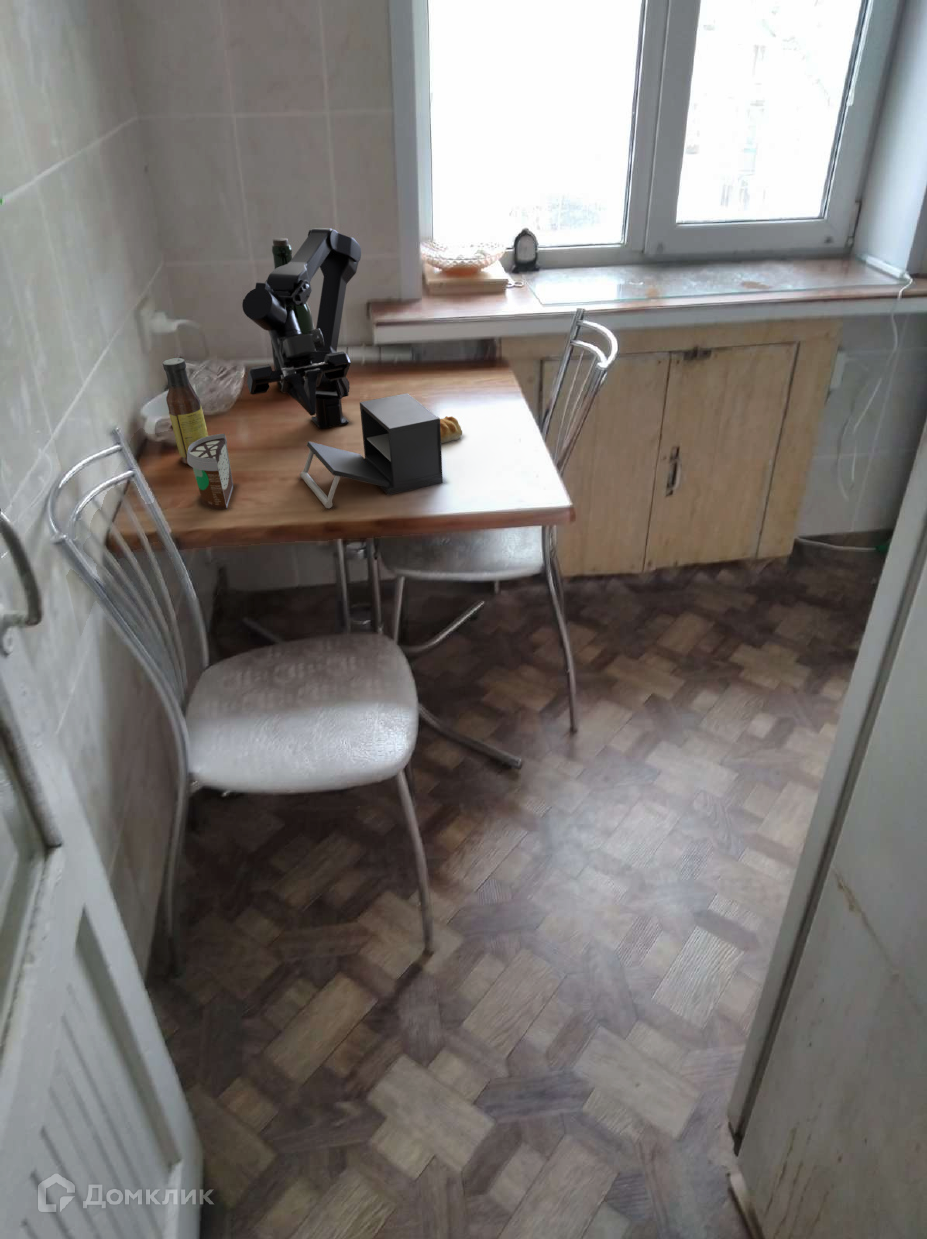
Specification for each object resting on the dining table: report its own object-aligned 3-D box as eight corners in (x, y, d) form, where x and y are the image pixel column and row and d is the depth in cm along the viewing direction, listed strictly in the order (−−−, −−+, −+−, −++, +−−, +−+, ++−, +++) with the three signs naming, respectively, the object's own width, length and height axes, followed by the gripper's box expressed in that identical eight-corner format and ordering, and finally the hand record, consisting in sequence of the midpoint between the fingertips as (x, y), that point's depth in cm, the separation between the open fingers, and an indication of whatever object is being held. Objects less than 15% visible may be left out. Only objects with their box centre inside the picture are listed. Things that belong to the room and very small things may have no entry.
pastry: (428, 449, 181) (427, 431, 179) (408, 440, 185) (407, 422, 183) (465, 437, 186) (464, 419, 184) (445, 428, 190) (444, 411, 188)
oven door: (376, 518, 166) (321, 507, 160) (348, 487, 177) (296, 476, 171) (389, 482, 163) (334, 470, 157) (360, 454, 174) (307, 441, 168)
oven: (388, 495, 164) (383, 429, 157) (359, 465, 176) (353, 403, 169) (442, 482, 168) (440, 418, 161) (411, 454, 179) (407, 393, 172)
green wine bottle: (270, 393, 211) (247, 243, 193) (287, 378, 219) (267, 233, 201) (312, 395, 209) (293, 243, 191) (328, 380, 217) (311, 233, 199)
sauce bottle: (219, 455, 181) (200, 357, 170) (201, 468, 176) (181, 367, 165) (191, 452, 183) (170, 354, 172) (173, 464, 178) (151, 364, 167)
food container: (201, 484, 170) (191, 434, 165) (234, 482, 170) (225, 432, 165) (190, 514, 160) (179, 461, 154) (225, 512, 160) (215, 459, 155)
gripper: (240, 322, 157) (268, 403, 155) (341, 307, 164) (369, 384, 162) (236, 355, 168) (262, 431, 166) (331, 339, 174) (357, 412, 172)
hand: (313, 414), depth 166 cm, fingers closed
